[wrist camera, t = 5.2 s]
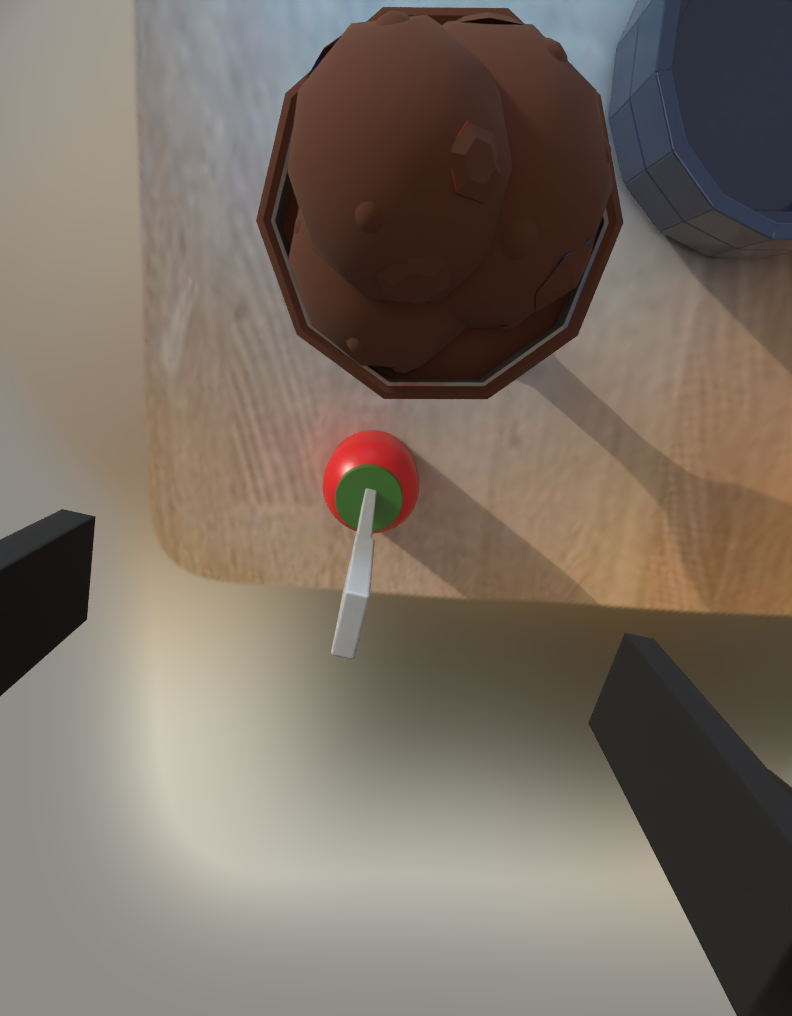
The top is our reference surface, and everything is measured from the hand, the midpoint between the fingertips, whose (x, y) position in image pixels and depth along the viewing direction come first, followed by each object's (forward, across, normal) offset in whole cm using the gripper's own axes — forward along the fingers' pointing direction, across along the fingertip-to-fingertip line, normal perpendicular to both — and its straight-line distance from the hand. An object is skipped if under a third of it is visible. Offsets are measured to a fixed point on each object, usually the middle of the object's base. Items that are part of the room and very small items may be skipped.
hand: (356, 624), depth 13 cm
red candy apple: (+16, 0, 0) cm, 16 cm away
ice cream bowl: (+16, 0, +10) cm, 19 cm away
